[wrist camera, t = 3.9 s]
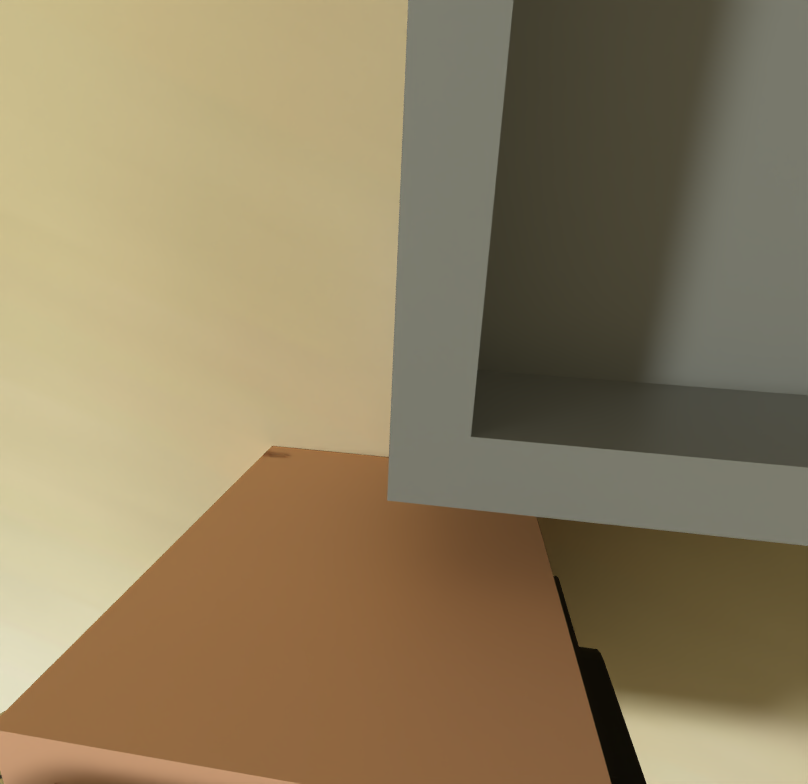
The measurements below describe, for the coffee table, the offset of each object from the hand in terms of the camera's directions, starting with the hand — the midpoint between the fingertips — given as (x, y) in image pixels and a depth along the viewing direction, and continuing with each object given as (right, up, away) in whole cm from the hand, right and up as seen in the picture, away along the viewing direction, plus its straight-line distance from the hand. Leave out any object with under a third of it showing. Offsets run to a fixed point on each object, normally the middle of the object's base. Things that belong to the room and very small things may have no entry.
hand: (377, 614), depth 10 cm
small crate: (0, +1, +2) cm, 2 cm away
